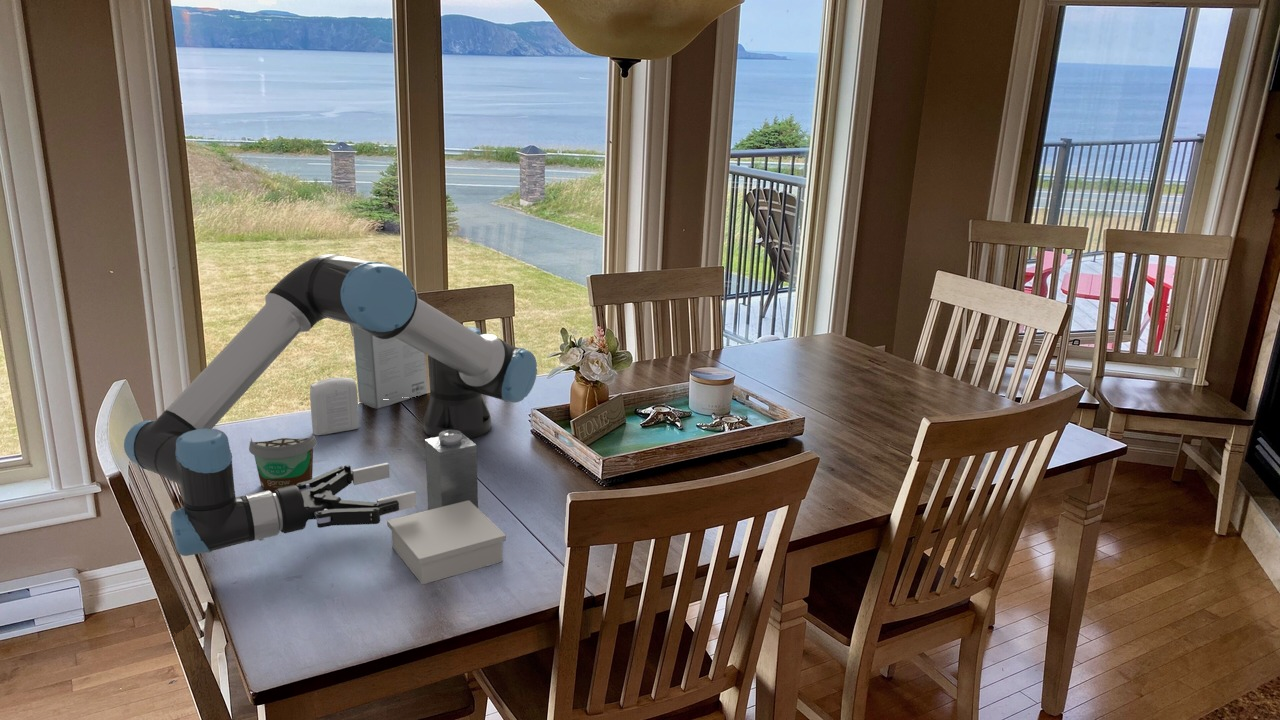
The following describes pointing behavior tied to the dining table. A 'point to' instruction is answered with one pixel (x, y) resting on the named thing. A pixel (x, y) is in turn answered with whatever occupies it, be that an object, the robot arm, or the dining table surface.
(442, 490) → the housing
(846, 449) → the dining table surface
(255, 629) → the dining table surface
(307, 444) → the food container
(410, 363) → the hard drive box
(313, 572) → the dining table surface
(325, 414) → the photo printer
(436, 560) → the plinth
